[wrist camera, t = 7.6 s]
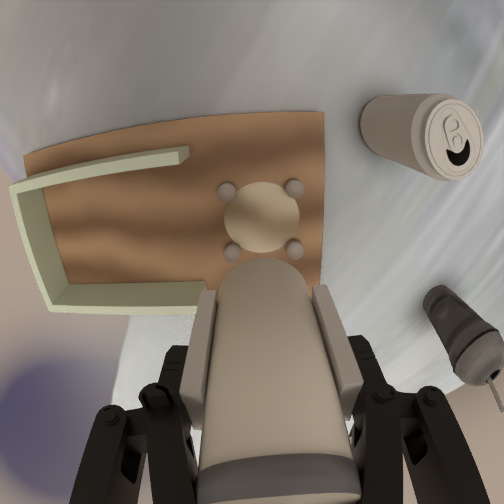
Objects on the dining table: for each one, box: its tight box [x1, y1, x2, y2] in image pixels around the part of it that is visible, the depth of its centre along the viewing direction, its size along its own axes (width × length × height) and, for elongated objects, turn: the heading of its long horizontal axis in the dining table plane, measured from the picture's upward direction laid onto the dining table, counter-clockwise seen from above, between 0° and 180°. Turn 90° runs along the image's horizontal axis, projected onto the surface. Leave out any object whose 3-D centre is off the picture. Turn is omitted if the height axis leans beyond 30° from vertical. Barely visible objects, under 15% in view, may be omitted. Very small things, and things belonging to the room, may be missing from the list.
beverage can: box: [361, 94, 484, 181], centre depth 20 cm, size 6×6×12 cm
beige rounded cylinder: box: [195, 258, 362, 504], centre depth 11 cm, size 5×5×12 cm
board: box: [23, 112, 324, 304], centre depth 29 cm, size 20×32×3 cm, turn 93°
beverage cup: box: [423, 285, 504, 412], centre depth 26 cm, size 7×7×20 cm
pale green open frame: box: [9, 145, 207, 315], centre depth 27 cm, size 15×19×4 cm
